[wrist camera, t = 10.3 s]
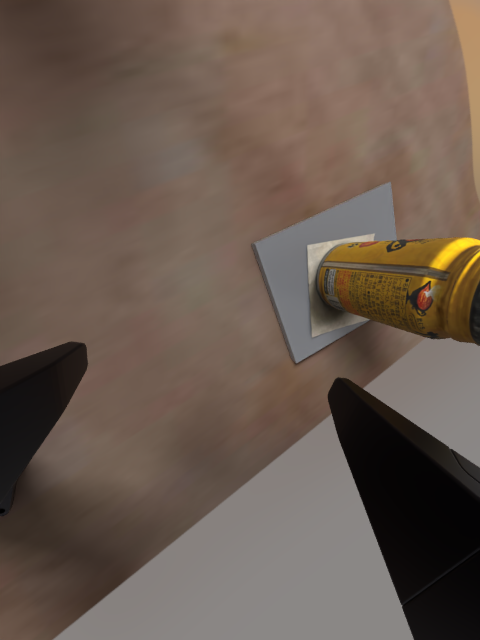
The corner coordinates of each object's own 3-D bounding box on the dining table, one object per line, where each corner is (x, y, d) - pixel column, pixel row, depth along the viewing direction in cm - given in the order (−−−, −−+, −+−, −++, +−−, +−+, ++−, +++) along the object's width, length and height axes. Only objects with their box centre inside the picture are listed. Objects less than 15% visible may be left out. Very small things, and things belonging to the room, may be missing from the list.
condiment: (372, 233, 22) (594, 215, 11) (369, 318, 24) (541, 373, 13) (305, 245, 20) (491, 237, 9) (309, 336, 22) (454, 417, 11)
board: (291, 359, 23) (296, 363, 23) (251, 243, 19) (255, 243, 18) (396, 299, 26) (402, 300, 25) (382, 184, 21) (390, 181, 21)
